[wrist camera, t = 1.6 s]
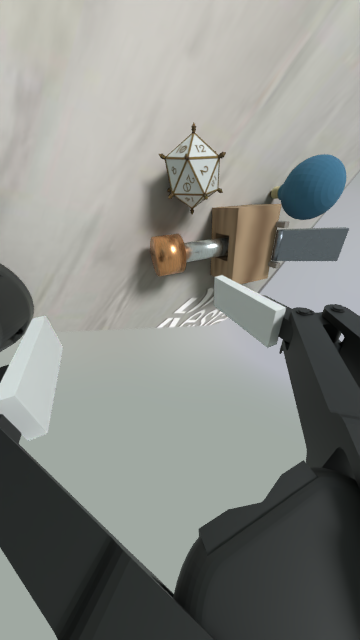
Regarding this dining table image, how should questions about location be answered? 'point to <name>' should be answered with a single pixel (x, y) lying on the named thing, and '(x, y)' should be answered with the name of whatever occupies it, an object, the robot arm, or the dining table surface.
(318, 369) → the robot arm
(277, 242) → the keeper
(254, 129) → the dining table surface
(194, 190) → the game die
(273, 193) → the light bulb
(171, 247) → the pin
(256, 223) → the hitch block
